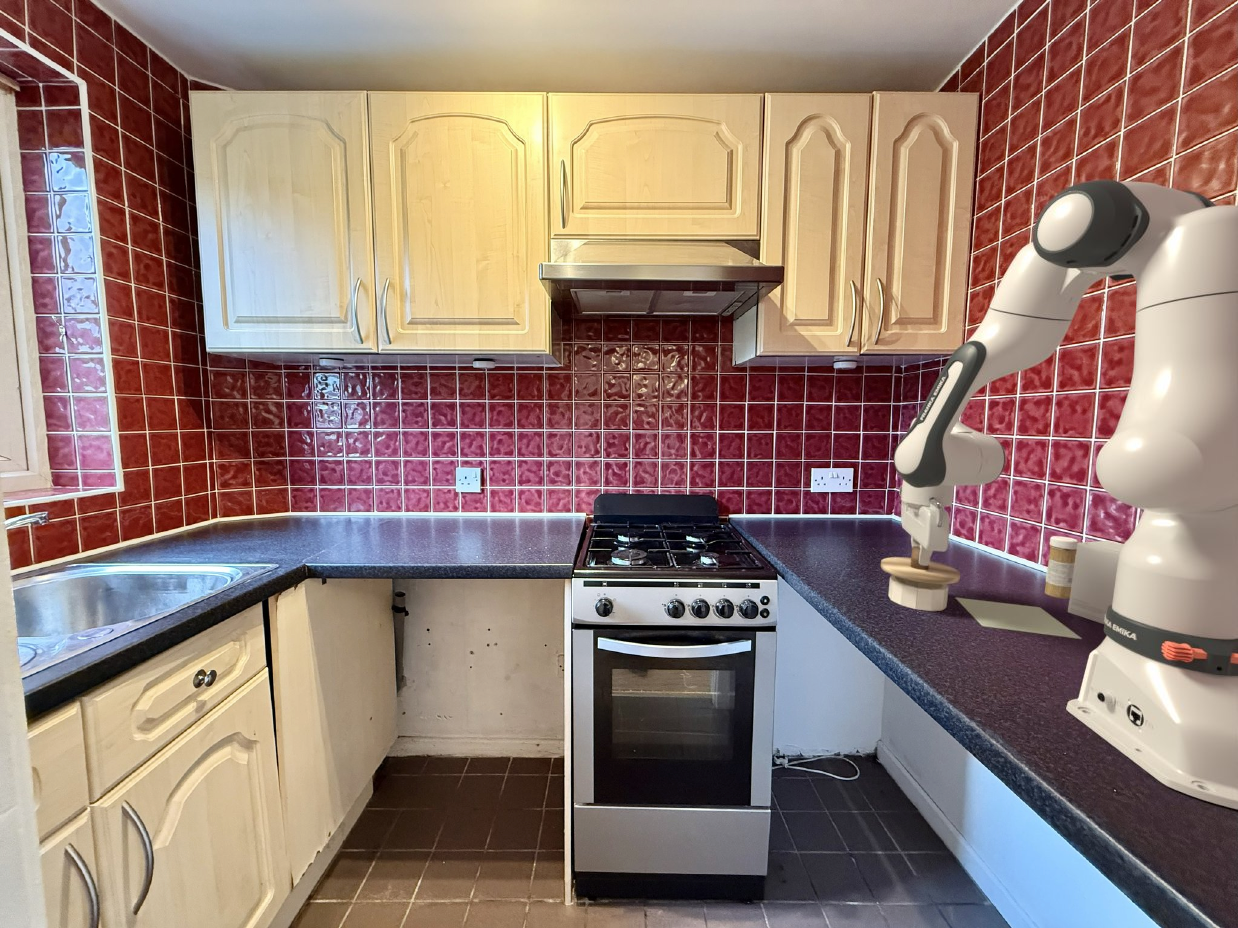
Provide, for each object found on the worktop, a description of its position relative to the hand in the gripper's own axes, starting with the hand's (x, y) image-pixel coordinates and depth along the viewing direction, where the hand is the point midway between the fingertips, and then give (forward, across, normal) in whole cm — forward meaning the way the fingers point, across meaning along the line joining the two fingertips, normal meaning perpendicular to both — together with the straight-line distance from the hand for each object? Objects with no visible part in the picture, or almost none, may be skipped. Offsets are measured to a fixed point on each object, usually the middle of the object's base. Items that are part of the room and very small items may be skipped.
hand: (920, 561), depth 104 cm
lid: (+2, 0, 0) cm, 2 cm away
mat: (+9, -2, -16) cm, 19 cm away
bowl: (+9, 0, 0) cm, 9 cm away
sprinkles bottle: (+9, +16, -31) cm, 36 cm away
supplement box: (+9, +4, -34) cm, 36 cm away
